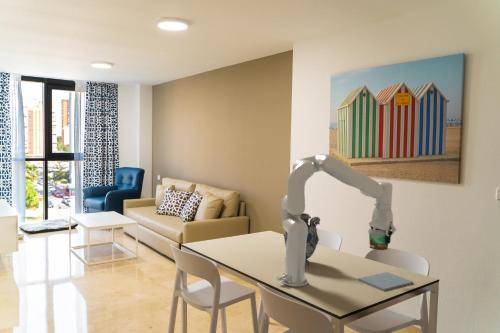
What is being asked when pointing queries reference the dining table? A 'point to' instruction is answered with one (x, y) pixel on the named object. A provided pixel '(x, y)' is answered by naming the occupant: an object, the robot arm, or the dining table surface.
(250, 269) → the dining table surface
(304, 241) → the robot arm
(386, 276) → the slate mat
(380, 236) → the food container
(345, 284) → the dining table surface
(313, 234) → the decorative vase
